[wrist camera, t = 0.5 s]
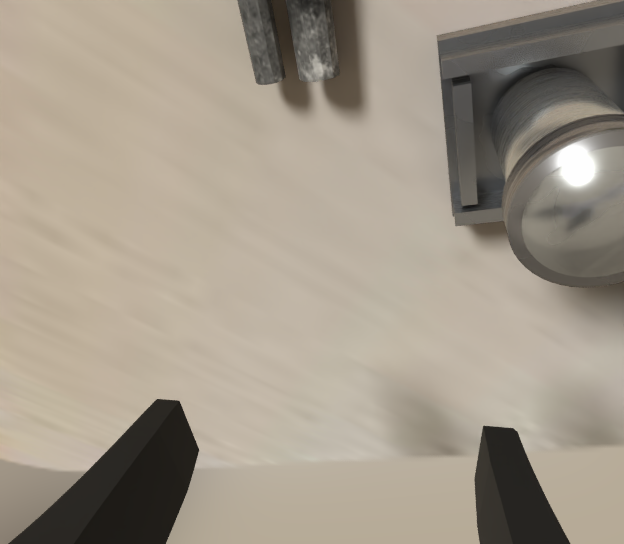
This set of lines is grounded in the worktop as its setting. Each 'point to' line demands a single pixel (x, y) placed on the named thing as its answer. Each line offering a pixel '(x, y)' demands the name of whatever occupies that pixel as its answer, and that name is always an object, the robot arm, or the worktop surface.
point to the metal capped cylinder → (563, 177)
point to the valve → (305, 34)
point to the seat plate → (508, 71)
